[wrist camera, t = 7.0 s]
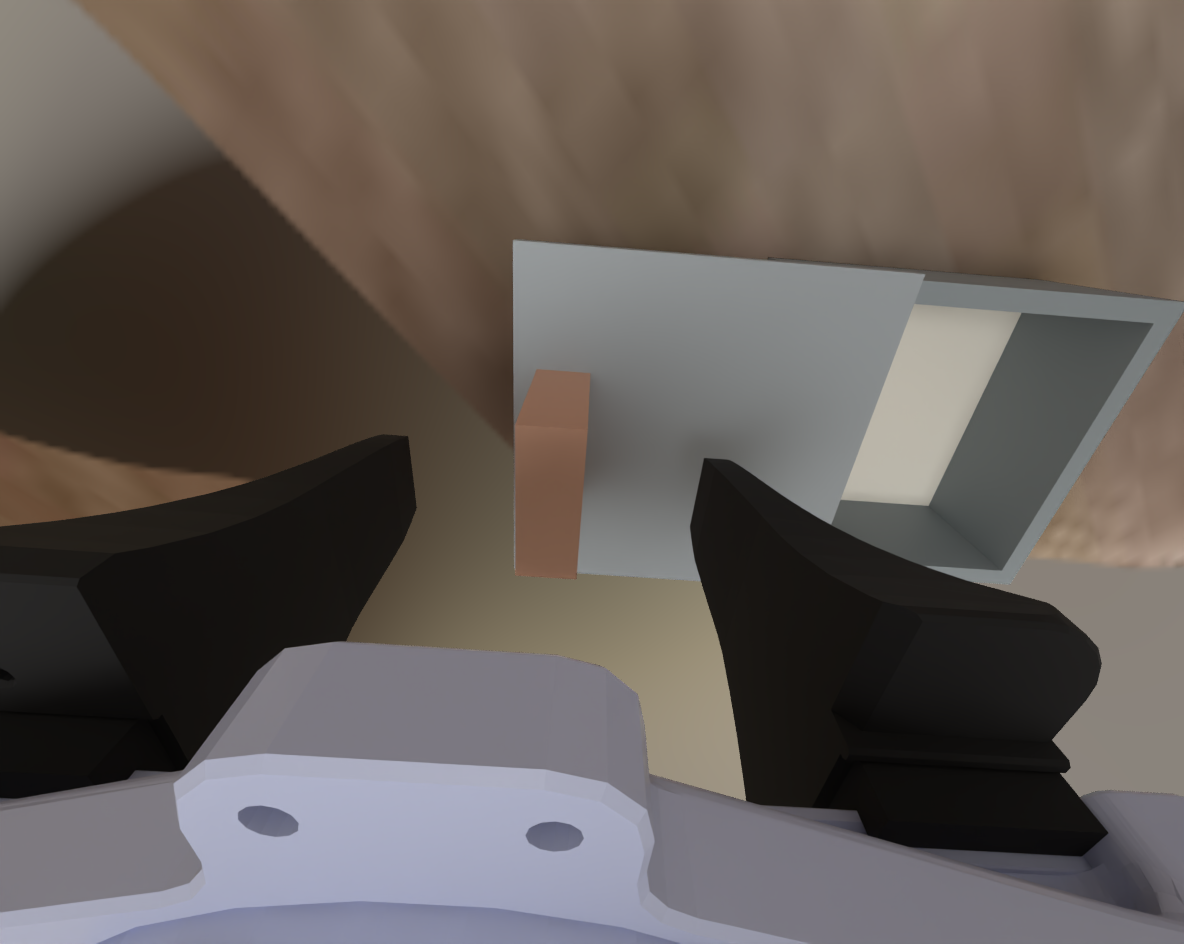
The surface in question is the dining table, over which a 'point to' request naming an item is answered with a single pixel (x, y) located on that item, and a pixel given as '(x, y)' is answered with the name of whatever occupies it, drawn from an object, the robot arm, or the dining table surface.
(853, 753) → the robot arm
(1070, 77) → the dining table surface
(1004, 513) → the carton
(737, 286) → the lid
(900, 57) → the dining table surface
